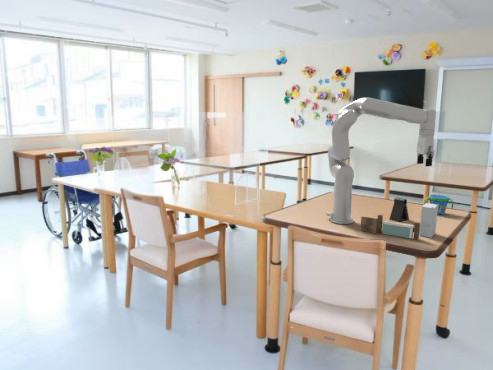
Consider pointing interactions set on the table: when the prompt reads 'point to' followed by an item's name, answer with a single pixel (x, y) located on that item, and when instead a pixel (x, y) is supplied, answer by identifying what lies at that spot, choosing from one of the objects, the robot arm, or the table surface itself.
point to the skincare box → (428, 220)
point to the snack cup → (439, 202)
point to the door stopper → (399, 210)
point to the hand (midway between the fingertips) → (424, 164)
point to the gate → (397, 229)
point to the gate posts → (376, 226)
